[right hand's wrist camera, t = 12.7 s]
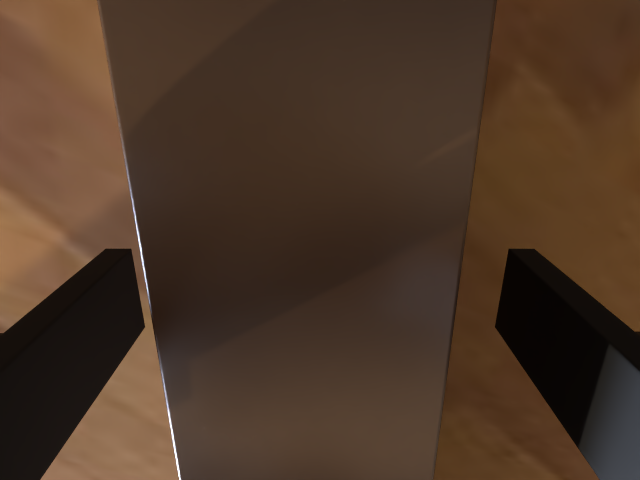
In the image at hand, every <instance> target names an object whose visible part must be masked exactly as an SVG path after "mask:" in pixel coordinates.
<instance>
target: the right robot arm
mask: <svg viewBox="0 0 640 480" xmlns="http://www.w3.org/2000/svg"><path fill="white" fill-rule="evenodd" d="M144 328H145V324H144V318H143V313H142V307H141V301H140V296H139V290H138V284H137V279H136V273H135V268H134V262H133V256H132V251H131V249H105V250H104V251H103V252H101V253H100V254H99V255H98V256H97V257H95V258H94V259H93V260H92V261H90V262H89V263H88V264H87V265H86V266H84V267H83V268H82V269H81V270H80V271H78V272H77V273H76V274H75V275H74V276H72V277H71V278H70V279H69V280H67V281H66V282H65V283H64V284H63V285H61V286H60V287H59V288H58V289H57V290H55V291H54V292H53V293H52V294H50V295H49V296H48V297H47V298H46V299H44V300H43V301H42V302H41V303H40V304H38V305H37V306H36V307H35V308H34V309H32V310H31V311H30V312H29V313H27V314H26V315H25V316H24V317H23V318H21V319H20V320H19V321H18V322H17V323H15V324H14V325H13V326H12V327H11V328H9V329H8V330H7V331H6V332H4V333H0V480H40V479H41V478H42V476H43V475H44V473H45V472H46V470H47V469H48V468H49V466H50V465H51V463H52V462H53V460H54V459H55V457H56V456H57V454H58V453H59V452H60V450H61V449H62V447H63V446H64V444H65V443H66V441H67V440H68V438H69V437H70V436H71V434H72V433H73V431H74V430H75V428H76V427H77V425H78V424H79V422H80V421H81V419H82V418H83V417H84V415H85V414H86V412H87V411H88V409H89V408H90V406H91V405H92V403H93V402H94V401H95V399H96V398H97V396H98V395H99V393H100V392H101V390H102V389H103V387H104V386H105V385H106V383H107V382H108V380H109V379H110V377H111V376H112V374H113V373H114V371H115V370H116V368H117V367H118V366H119V364H120V363H121V361H122V360H123V358H124V357H125V355H126V354H127V352H128V351H129V350H130V348H131V347H132V345H133V344H134V342H135V341H136V339H137V338H138V336H139V335H140V334H141V332H142V331H143V329H144ZM495 328H496V329H497V331H498V332H499V334H500V335H501V336H502V338H503V339H504V341H505V342H506V344H507V345H508V347H509V348H510V350H511V351H512V352H513V354H514V355H515V357H516V358H517V360H518V361H519V363H520V364H521V366H522V367H523V368H524V370H525V371H526V373H527V374H528V376H529V377H530V379H531V380H532V382H533V383H534V385H535V386H536V387H537V389H538V390H539V392H540V393H541V395H542V396H543V398H544V399H545V401H546V402H547V403H548V405H549V406H550V408H551V409H552V411H553V412H554V414H555V415H556V417H557V418H558V419H559V421H560V422H561V424H562V425H563V427H564V428H565V430H566V431H567V433H568V434H569V436H570V437H571V438H572V440H573V441H574V443H575V444H576V446H577V447H578V449H579V450H580V452H581V453H582V454H583V456H584V457H585V459H586V460H587V462H588V463H589V465H590V466H591V468H592V469H593V470H594V472H595V473H596V475H597V476H598V478H599V479H600V480H640V332H634V331H633V330H632V329H631V328H629V327H628V326H627V325H626V324H625V323H623V322H622V321H621V320H620V319H619V318H617V317H616V316H615V315H614V314H613V313H611V312H610V311H609V310H608V309H606V308H605V307H604V306H603V305H602V304H600V303H599V302H598V301H597V300H596V299H594V298H593V297H592V296H591V295H589V294H588V293H587V292H586V291H585V290H583V289H582V288H581V287H580V286H579V285H577V284H576V283H575V282H574V281H573V280H571V279H570V278H569V277H568V276H566V275H565V274H564V273H563V272H562V271H560V270H559V269H558V268H557V267H556V266H554V265H553V264H552V263H551V262H550V261H548V260H547V259H546V258H545V257H543V256H542V255H541V254H540V253H539V252H537V251H536V250H535V249H509V250H508V256H507V262H506V267H505V273H504V279H503V284H502V290H501V296H500V301H499V307H498V313H497V318H496V324H495Z"/></svg>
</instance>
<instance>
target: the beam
mask: <svg viewBox="0 0 640 480" xmlns="http://www.w3.org/2000/svg"><path fill="white" fill-rule="evenodd" d="M97 3H98V8H99V14H100V20H101V26H102V32H103V38H104V43H105V49H106V55H107V61H108V67H109V73H110V78H111V84H112V90H113V96H114V102H115V108H116V113H117V119H118V125H119V131H120V137H121V142H122V148H123V154H124V160H125V166H126V172H127V177H128V183H129V189H130V195H131V201H132V207H133V212H134V218H135V224H136V230H137V236H138V242H139V247H140V253H141V259H142V265H143V271H144V276H145V282H146V288H147V294H148V300H149V306H150V311H151V317H152V323H153V329H154V335H155V341H156V346H157V352H158V358H159V364H160V370H161V376H162V381H163V387H164V393H165V399H166V405H167V410H168V416H169V422H170V428H171V434H172V440H173V445H174V451H175V457H176V463H177V469H178V475H179V480H433V478H434V471H435V463H436V456H437V448H438V441H439V433H440V426H441V418H442V410H443V403H444V395H445V388H446V380H447V373H448V365H449V358H450V350H451V342H452V335H453V327H454V320H455V312H456V305H457V297H458V290H459V282H460V275H461V267H462V259H463V252H464V244H465V237H466V229H467V222H468V214H469V207H470V199H471V192H472V184H473V176H474V169H475V161H476V154H477V146H478V139H479V131H480V124H481V116H482V108H483V101H484V93H485V86H486V78H487V71H488V63H489V56H490V48H491V41H492V33H493V25H494V18H495V10H496V3H497V0H97Z"/></svg>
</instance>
